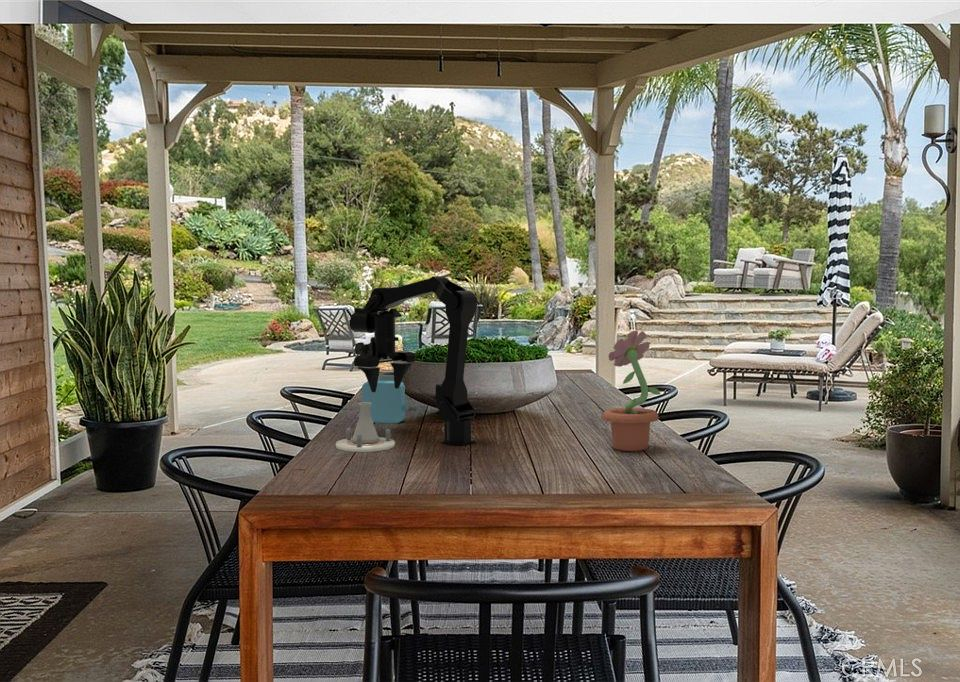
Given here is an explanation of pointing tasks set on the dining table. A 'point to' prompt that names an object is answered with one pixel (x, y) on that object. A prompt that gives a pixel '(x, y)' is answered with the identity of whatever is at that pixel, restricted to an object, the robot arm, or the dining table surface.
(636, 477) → the dining table surface
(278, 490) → the dining table surface
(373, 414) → the blue rounded slab
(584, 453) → the dining table surface
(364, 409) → the flask
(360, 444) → the pin cradle
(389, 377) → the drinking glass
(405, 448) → the dining table surface
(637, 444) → the decorative flower
